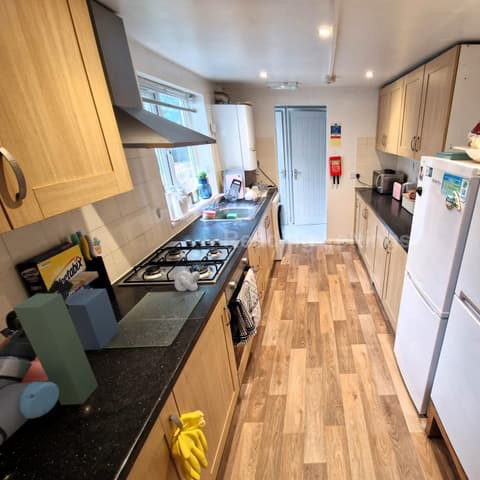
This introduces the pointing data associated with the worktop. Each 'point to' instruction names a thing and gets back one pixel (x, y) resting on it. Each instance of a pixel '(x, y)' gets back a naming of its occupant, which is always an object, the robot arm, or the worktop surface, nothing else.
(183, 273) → the white knot
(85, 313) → the blue box
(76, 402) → the green block
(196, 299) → the worktop surface
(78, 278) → the tan slab
